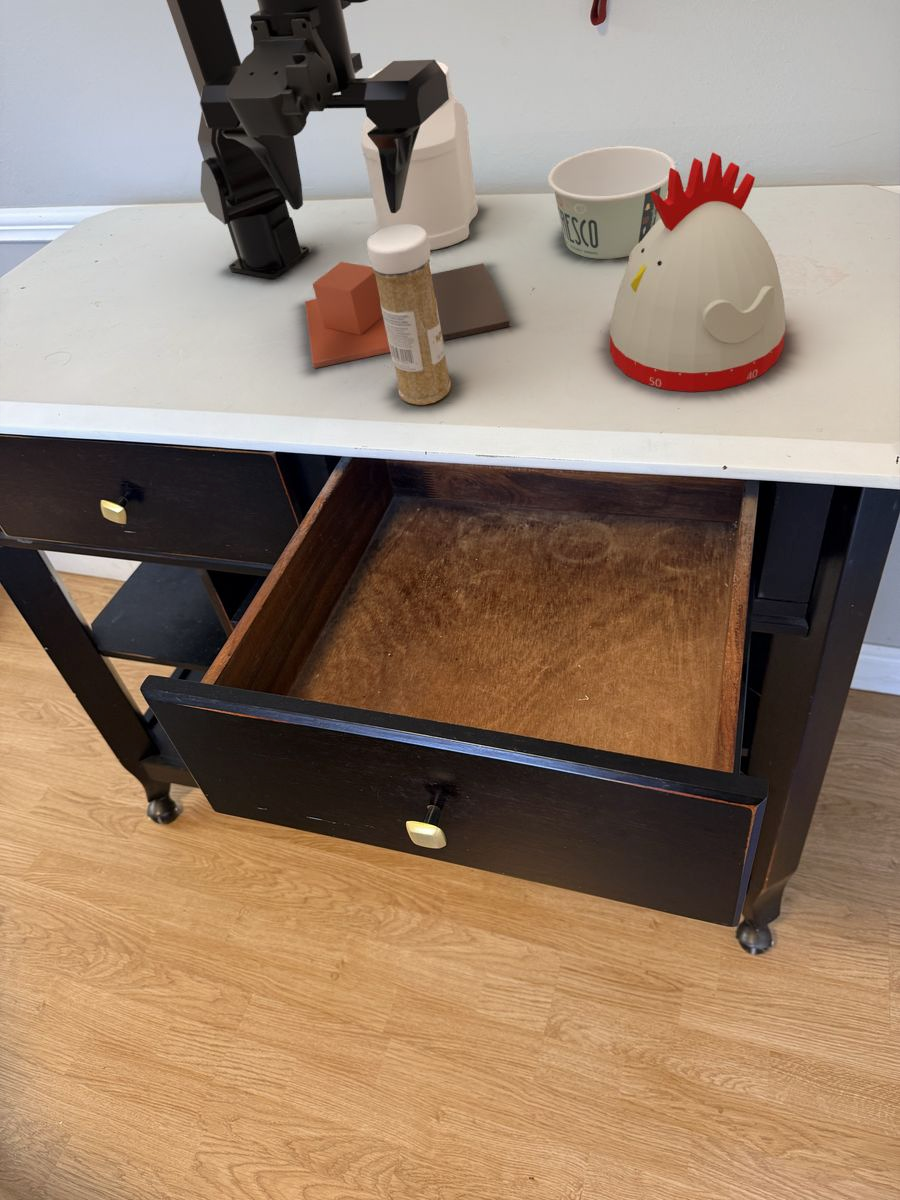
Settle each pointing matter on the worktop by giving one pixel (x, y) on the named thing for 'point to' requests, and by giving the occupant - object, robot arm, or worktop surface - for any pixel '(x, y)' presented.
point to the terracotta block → (348, 298)
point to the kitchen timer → (700, 290)
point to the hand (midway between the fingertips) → (345, 209)
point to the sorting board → (460, 307)
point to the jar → (431, 176)
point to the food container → (609, 198)
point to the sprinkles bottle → (410, 311)
